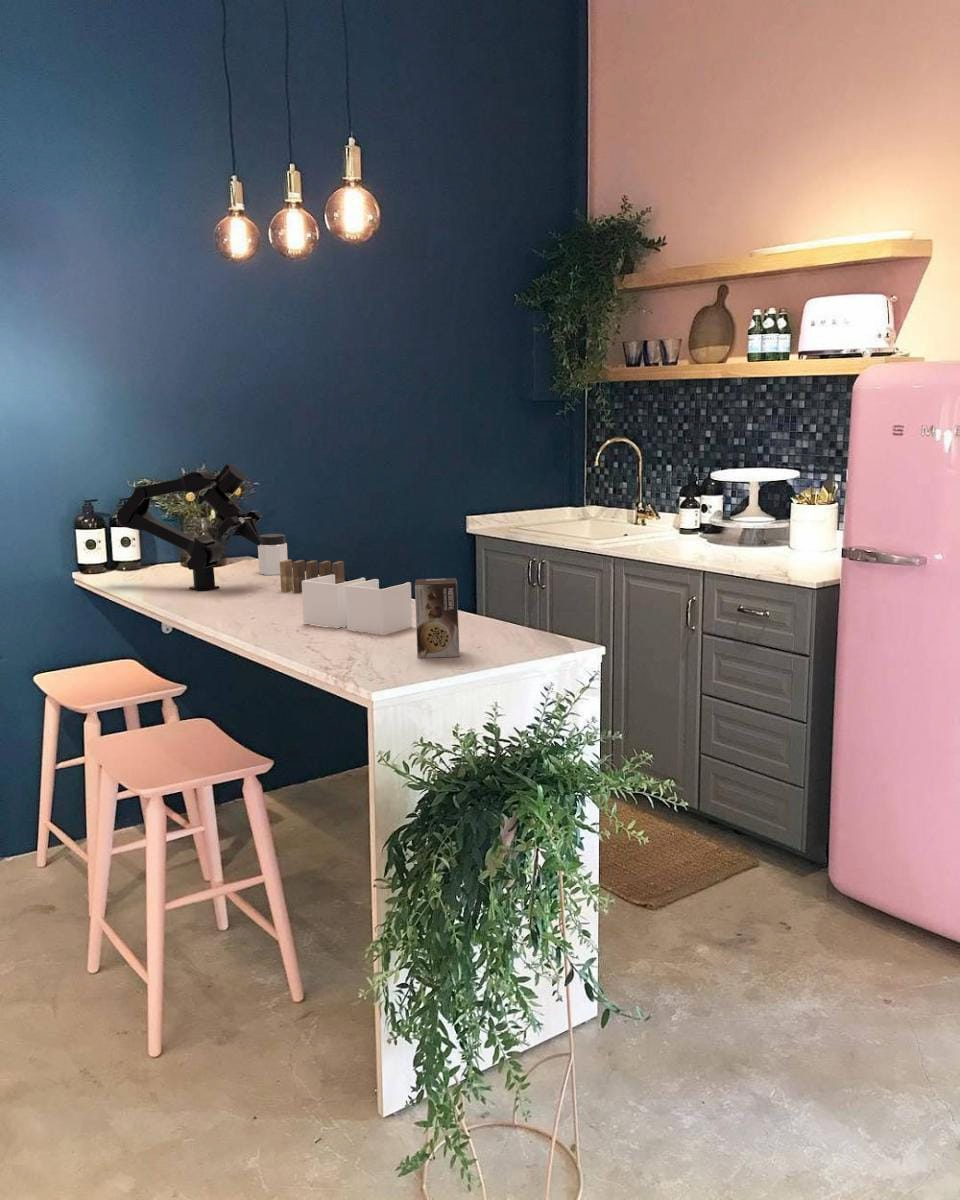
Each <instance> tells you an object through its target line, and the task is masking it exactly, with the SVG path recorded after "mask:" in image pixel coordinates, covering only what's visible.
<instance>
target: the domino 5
mask: <svg viewBox="0 0 960 1200" xmlns="http://www.w3.org/2000/svg"><path fill="white" fill-rule="evenodd" d="M331 574H332V575H335V584H339V583H344V582H346V580H345V562H344V560H338V561H335V562H333V563H332V562H331Z"/></svg>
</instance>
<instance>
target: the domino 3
mask: <svg viewBox="0 0 960 1200" xmlns="http://www.w3.org/2000/svg"><path fill="white" fill-rule="evenodd" d="M318 577H319V563H318V560H316V559H315V560H312V559H311V560H310V561H307V562H305V580H309V579H313V578H318Z"/></svg>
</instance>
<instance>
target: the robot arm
mask: <svg viewBox="0 0 960 1200" xmlns="http://www.w3.org/2000/svg"><path fill="white" fill-rule="evenodd" d="M246 480H247V477H246V475H245V474H244V472H243V471H241V470H240V469H238V468H237V467H234V466H233V465H232V464H230V463H227V464H225V466H224V467H223V469H222V470H221V471H220V472H219V474H217V475H216V474H212V473H211V472H209V471H208V470H205V469H204V470H196V471H192V472H189V473H187V474H184V475H182V476H180V477H178V478H176V479H172V480H167V481H162V482H158V483H153V484H145V485H139V486H137V487H135V489H134V491H133V493H132V494H131V496H130V497H129V498H128V499H127V500H126V501H125V503H124V504H123V506H122V508H119V510H118V511H117V513H116V514H117V516H116V517H117V518H116V519H117V521H118V524H119V525H120V526H121V527H124V528H128V529H131V530H137V531H143V532H146V533H149V534H151V535H152V536H154V537H157V538H158V539H160V540H161V541H162V540H163V541H165V542H167V543H168V544H171V545H173V546H175V547H177V548H179V549H181V550H183V551H185V552H186V553H187V555H189V557H190V558H189V559H188V560H187V561H186V565H187V569H188V570H190V571H192V577H193V579H192V581H193V586H189V590H196V591H200V592H201V591H209V590H213V589H214V590H215V589H219V588H220V586H219V585H216V581H215V569H214V567H217V566H218V564H219V560H220V559H221V558H222V555H223V549H222V547H221V545H220V543H218V542H221V543H223V542H227V541H229V539H230V537H231V535H232V536H233V537H242V538H245V539H246V540H248V541H250V542H251V543H253V544H255V545H256V546H257V547H258V546H259V545H261V544H262V542H261V539H260V533H259V530H258V527H257V526H258V525H257V523H258V522H259V521H260V520H261V519H262V517H263V516H264V515H263V514H262V512H260V510H252V511H249V512H247V510H246V509H245V510H242V509H241V508H240V507H239V506H238V501H237V500H235V499H234V500H233V499H232V498H231V497H230V496H229V494H230V495H233V494H235V493H236V492H237V491H238V489H240V487H241V486H242V485H243V484H244V483H245V482H246ZM203 491H205V492H204V494H199V495H198V503H197V504H198V506H202V505H206V504H207V505H208V506H210V508H211V509H212V510H213V511H214V512H215V513H216V514H215V518H216V519H217V521H218V522H217V523H216V524H215V526H211V527H209V528H208V530H207V532H208V534H209V536H210V537H209V536H208V535H205V534H203V535H199V536H196V537H194V536H192V535H190V534H187V533H185V532H183V531H181V530H179V529H178V528H175V527H172V526H171V525H168V524H167V523H164V522H162V521H161V520H157V519H156V518H154V516H153V515H152V514H151V513H150V512H149V511H148V510H149V509H150V505H151V501H152V498H153V497H159V496H164V495H169V494H174V493H178V492H179V493H180V492H184V493H199V492H203ZM232 531H233V532H234V533H232ZM231 533H232V534H231ZM217 541H218V542H217Z"/></svg>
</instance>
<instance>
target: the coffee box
mask: <svg viewBox="0 0 960 1200" xmlns="http://www.w3.org/2000/svg"><path fill="white" fill-rule="evenodd" d="M414 595H415V597H414V598H415V599H414V600H415V621H416V624H415V625H416V627H415V628H416V650H417V654H416V657H417V659H423V658H424V659H425V658H426V659H427V658H455V657H457V658H458V657H460V637H459V634H460V633H459V605H458V602H459V601H458V582H457V578H456V577H454V578H453V577H452V578H448V577H447V578H444V577H443V578H419V579H415V581H414Z"/></svg>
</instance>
